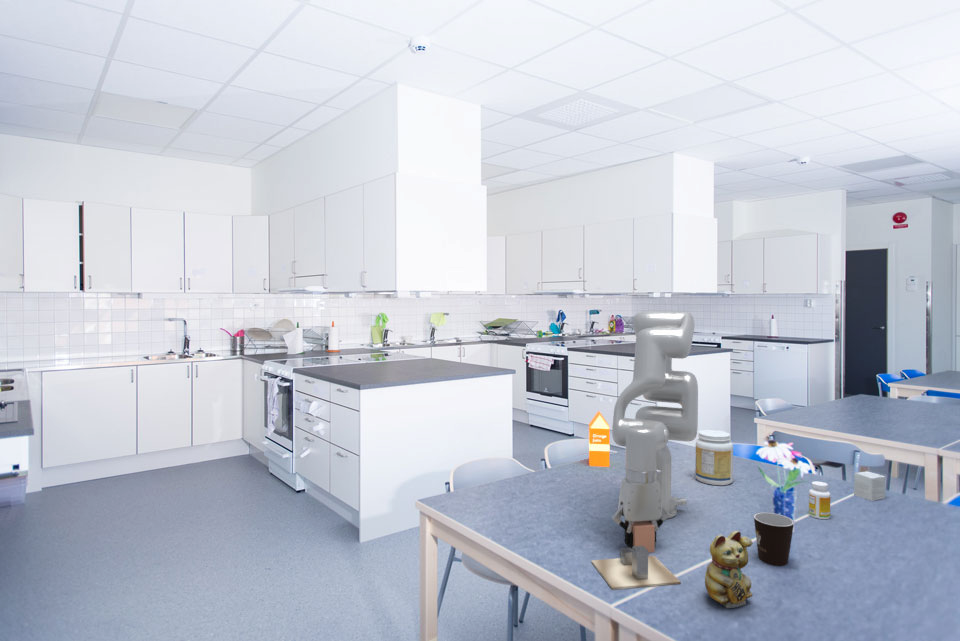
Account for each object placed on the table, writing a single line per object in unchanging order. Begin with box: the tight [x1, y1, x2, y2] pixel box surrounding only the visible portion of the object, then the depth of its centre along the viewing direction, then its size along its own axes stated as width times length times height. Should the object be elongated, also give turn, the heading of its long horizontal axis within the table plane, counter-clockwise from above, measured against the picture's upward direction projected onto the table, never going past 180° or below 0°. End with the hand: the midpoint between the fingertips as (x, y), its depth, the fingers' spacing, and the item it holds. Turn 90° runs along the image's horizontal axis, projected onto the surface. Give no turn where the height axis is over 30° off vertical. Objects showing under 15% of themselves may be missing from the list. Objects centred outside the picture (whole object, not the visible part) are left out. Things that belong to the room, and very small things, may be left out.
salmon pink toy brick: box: [632, 521, 656, 554], centre depth 142 cm, size 5×5×7 cm
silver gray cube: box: [619, 547, 632, 566], centre depth 133 cm, size 3×3×3 cm
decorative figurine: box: [704, 530, 754, 609], centre depth 118 cm, size 10×8×15 cm
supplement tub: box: [695, 429, 734, 486], centre depth 196 cm, size 12×12×17 cm
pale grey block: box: [853, 470, 886, 502], centre depth 180 cm, size 6×6×7 cm
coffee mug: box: [753, 512, 795, 567], centre depth 137 cm, size 12×9×10 cm
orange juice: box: [588, 410, 611, 468], centre depth 218 cm, size 8×9×20 cm
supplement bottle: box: [808, 480, 832, 520], centre depth 163 cm, size 5×5×10 cm
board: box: [591, 555, 682, 590], centre depth 130 cm, size 16×13×1 cm
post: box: [632, 546, 649, 580], centre depth 126 cm, size 3×3×6 cm
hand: (640, 544), depth 142 cm, fingers closed on salmon pink toy brick, 5 cm apart
